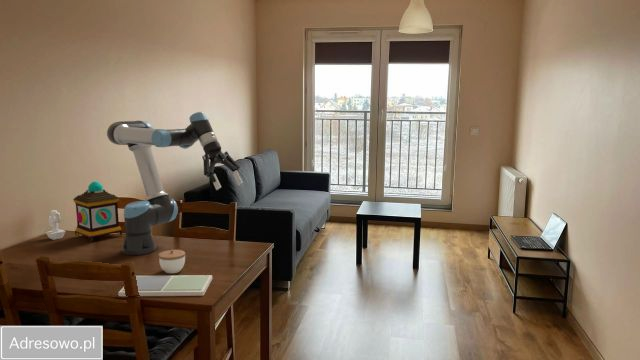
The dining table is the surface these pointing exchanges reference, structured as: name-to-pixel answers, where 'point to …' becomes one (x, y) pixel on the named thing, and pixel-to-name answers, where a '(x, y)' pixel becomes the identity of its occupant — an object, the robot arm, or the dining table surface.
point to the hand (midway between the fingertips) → (230, 186)
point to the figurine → (55, 226)
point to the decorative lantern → (96, 212)
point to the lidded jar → (172, 260)
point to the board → (171, 285)
